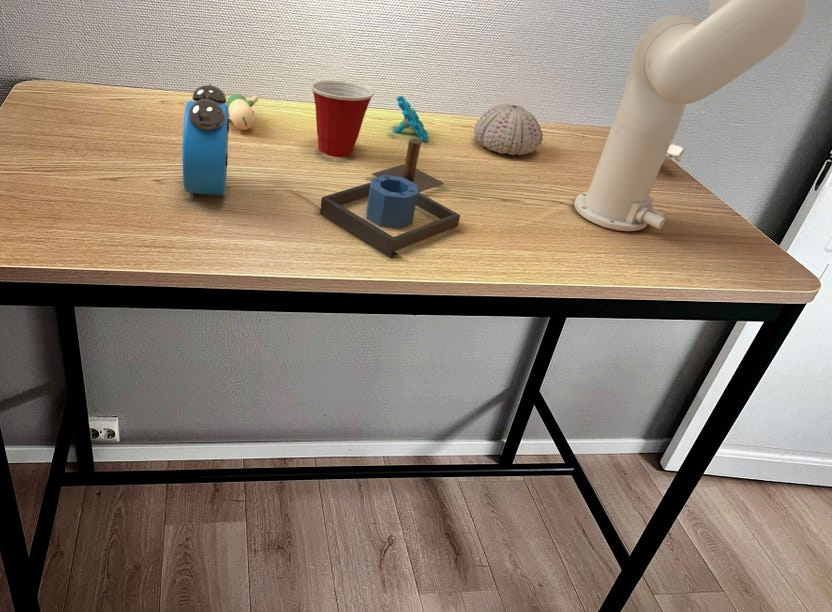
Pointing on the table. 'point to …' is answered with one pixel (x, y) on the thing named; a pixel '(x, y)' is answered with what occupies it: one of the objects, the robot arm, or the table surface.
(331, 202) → the tray
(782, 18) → the robot arm
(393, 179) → the ring
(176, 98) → the table surface
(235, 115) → the toy figurine
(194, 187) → the alarm clock
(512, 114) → the sea urchin shell
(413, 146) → the dowel stand
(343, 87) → the plastic cup
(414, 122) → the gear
